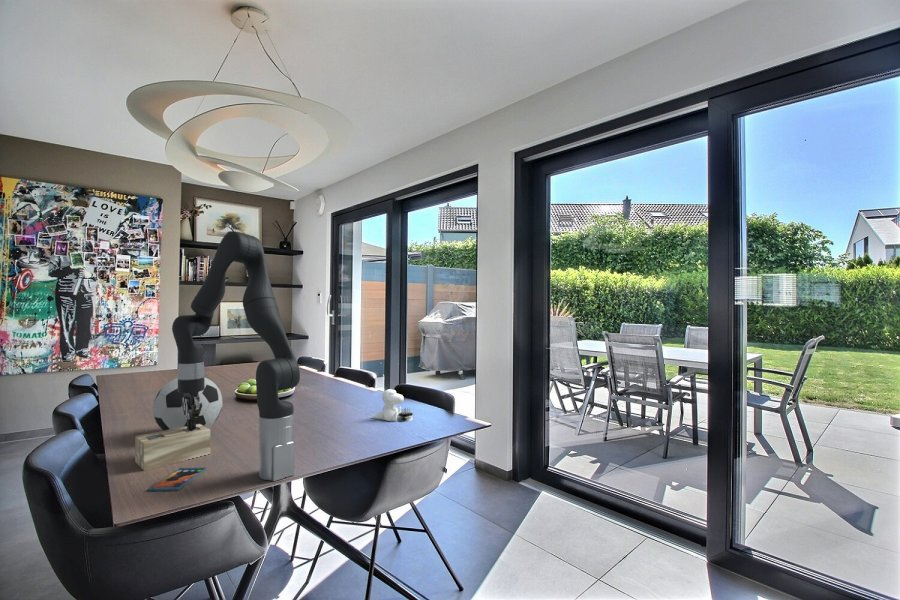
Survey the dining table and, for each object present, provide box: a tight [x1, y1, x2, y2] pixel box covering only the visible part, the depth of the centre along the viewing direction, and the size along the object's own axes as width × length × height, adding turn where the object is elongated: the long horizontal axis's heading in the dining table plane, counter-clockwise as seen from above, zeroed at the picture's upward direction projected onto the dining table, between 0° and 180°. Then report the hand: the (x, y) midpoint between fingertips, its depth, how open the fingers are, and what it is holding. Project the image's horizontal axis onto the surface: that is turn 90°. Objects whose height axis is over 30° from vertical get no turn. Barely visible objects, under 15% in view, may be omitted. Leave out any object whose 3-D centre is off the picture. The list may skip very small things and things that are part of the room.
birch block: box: [134, 424, 211, 472], centre depth 137 cm, size 10×18×8 cm, turn 138°
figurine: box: [371, 388, 414, 422], centre depth 182 cm, size 8×18×12 cm, turn 81°
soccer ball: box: [152, 377, 223, 431], centre depth 160 cm, size 22×22×22 cm
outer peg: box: [148, 435, 162, 440], centre depth 134 cm, size 4×4×7 cm
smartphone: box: [147, 467, 208, 492], centre depth 122 cm, size 8×1×15 cm
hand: (191, 429), depth 141 cm, fingers closed
